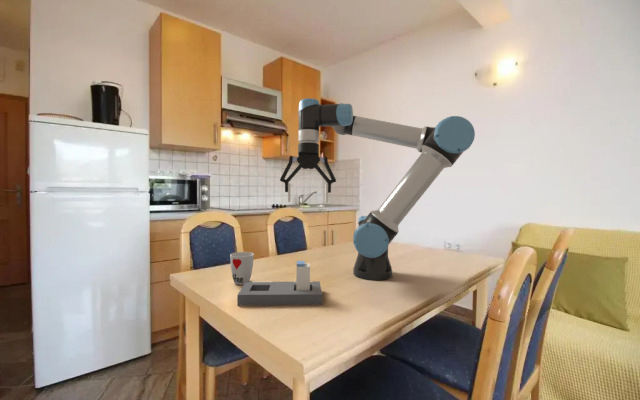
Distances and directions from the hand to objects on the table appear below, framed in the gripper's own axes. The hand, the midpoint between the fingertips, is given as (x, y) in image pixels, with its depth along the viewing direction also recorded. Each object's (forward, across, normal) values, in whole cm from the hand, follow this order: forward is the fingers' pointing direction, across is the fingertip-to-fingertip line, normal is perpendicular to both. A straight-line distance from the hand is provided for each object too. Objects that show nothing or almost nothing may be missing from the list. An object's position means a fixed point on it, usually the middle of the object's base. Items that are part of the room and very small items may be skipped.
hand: (307, 201), depth 107 cm
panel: (+29, +8, +18) cm, 35 cm away
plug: (+29, +2, +18) cm, 34 cm away
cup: (+29, +23, +3) cm, 37 cm away
